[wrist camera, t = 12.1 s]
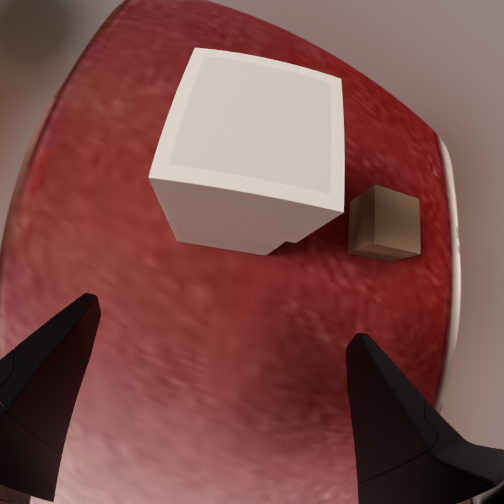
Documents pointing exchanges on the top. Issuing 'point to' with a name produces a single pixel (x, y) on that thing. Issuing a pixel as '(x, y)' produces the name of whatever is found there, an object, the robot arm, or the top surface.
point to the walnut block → (384, 225)
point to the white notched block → (250, 153)
